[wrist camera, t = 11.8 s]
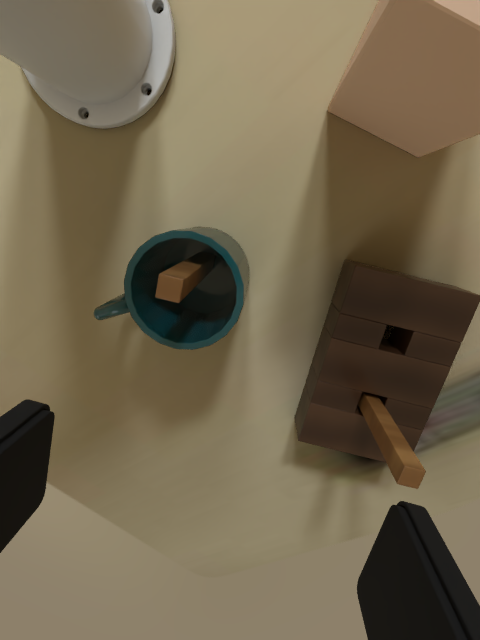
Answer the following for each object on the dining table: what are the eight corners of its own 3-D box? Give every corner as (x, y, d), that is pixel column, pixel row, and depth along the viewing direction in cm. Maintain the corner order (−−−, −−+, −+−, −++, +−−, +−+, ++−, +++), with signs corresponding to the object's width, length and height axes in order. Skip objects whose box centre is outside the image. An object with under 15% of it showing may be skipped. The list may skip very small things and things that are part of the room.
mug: (234, 215, 31) (222, 214, 23) (259, 303, 33) (258, 332, 25) (113, 253, 33) (59, 266, 24) (144, 334, 35) (105, 373, 26)
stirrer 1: (200, 251, 32) (158, 273, 19) (215, 255, 32) (183, 279, 19) (197, 266, 32) (154, 297, 20) (212, 270, 32) (179, 303, 20)
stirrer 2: (354, 377, 35) (404, 466, 22) (368, 380, 35) (426, 471, 22) (350, 389, 35) (396, 484, 23) (363, 393, 35) (418, 489, 23)
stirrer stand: (344, 259, 32) (355, 264, 28) (456, 286, 32) (482, 296, 28) (294, 417, 36) (297, 441, 33) (391, 441, 36) (406, 467, 33)
